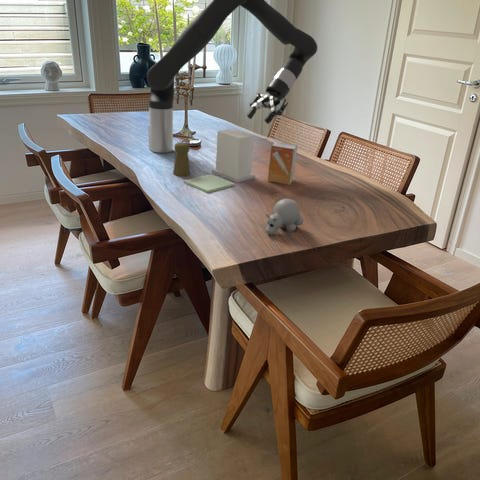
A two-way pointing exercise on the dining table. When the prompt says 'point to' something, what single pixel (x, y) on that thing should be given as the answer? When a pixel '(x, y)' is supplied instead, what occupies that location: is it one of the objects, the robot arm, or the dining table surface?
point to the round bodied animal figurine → (284, 216)
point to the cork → (181, 159)
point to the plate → (208, 183)
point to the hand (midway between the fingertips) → (257, 119)
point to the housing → (234, 155)
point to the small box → (282, 162)
